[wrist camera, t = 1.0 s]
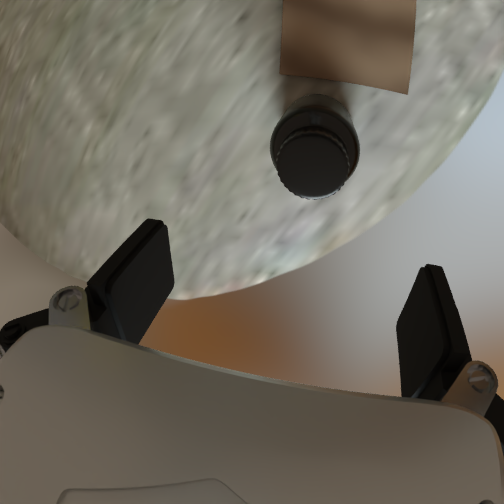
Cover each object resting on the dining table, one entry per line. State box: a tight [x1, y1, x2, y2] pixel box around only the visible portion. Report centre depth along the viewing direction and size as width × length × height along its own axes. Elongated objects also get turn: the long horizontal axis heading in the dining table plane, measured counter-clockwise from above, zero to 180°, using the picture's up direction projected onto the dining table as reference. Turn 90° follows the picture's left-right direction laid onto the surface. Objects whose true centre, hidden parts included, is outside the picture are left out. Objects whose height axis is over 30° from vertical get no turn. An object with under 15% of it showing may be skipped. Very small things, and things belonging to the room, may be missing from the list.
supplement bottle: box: [270, 94, 360, 200], centre depth 24 cm, size 7×7×12 cm
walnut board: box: [280, 0, 416, 95], centre depth 21 cm, size 14×12×1 cm
